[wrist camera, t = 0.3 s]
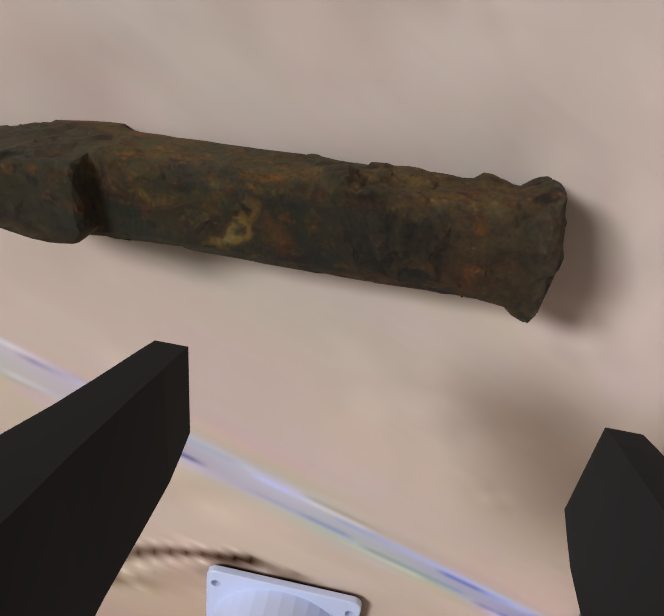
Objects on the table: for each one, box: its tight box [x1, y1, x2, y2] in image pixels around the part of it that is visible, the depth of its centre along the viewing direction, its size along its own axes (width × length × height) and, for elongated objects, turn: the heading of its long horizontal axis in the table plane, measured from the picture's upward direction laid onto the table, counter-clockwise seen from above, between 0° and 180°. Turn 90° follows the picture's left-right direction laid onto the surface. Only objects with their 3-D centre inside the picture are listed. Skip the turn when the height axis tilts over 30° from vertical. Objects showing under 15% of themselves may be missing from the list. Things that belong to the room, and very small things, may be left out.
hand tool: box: [0, 120, 567, 323], centre depth 17 cm, size 19×4×5 cm, turn 81°
